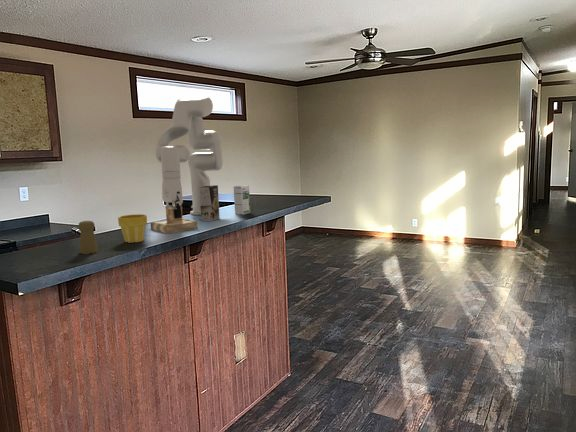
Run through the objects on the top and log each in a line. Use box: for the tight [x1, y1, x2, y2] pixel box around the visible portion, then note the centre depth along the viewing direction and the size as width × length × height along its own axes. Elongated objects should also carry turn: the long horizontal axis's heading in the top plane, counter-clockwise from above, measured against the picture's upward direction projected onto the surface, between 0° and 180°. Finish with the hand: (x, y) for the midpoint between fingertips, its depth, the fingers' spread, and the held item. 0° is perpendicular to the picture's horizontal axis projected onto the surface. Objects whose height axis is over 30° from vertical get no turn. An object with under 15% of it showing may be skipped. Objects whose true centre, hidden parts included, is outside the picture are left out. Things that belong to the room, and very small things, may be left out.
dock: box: [150, 217, 199, 234], centre depth 207 cm, size 16×14×3 cm
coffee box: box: [199, 185, 221, 222], centre depth 228 cm, size 9×6×16 cm
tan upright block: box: [164, 204, 183, 224], centre depth 205 cm, size 5×5×7 cm
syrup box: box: [233, 184, 251, 215], centre depth 244 cm, size 6×6×14 cm
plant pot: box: [117, 213, 148, 244], centre depth 183 cm, size 10×10×10 cm
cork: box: [77, 220, 99, 255], centre depth 166 cm, size 6×6×11 cm
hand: (174, 217), depth 206 cm, fingers open, 5 cm apart
